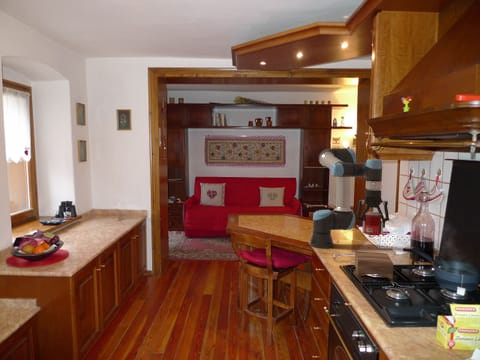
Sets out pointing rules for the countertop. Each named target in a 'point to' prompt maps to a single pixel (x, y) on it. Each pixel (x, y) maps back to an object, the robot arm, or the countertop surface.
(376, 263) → the walnut stand
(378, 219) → the canned food
